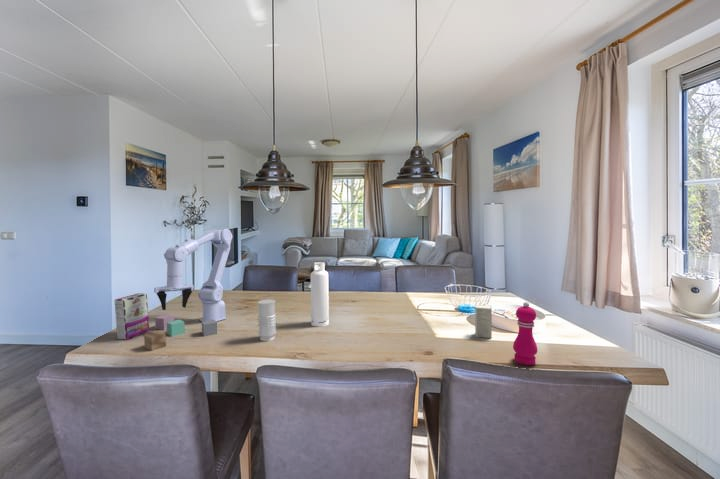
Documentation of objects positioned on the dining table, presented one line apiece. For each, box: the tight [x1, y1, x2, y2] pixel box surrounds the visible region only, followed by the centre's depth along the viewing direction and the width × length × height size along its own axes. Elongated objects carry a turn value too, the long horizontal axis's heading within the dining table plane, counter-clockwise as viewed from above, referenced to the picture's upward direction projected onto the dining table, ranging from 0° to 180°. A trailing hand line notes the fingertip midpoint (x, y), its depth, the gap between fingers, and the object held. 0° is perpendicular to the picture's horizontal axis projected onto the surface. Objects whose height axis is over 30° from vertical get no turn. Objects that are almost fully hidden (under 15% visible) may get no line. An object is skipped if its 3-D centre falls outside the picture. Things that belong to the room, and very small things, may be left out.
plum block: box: [154, 314, 175, 331], centre depth 145 cm, size 5×5×5 cm
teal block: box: [166, 319, 186, 337], centre depth 137 cm, size 5×5×5 cm
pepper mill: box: [512, 301, 538, 366], centre depth 108 cm, size 7×7×20 cm
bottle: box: [310, 261, 330, 327], centre depth 148 cm, size 8×8×28 cm
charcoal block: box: [201, 320, 218, 337], centre depth 137 cm, size 5×5×5 cm
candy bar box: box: [114, 292, 150, 341], centre depth 135 cm, size 11×5×16 cm, turn 168°
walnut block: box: [143, 331, 167, 352], centre depth 122 cm, size 5×5×5 cm
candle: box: [257, 298, 277, 342], centre depth 131 cm, size 7×7×15 cm
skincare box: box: [474, 304, 493, 339], centre depth 132 cm, size 6×4×12 cm
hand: (174, 308), depth 137 cm, fingers open, 7 cm apart
